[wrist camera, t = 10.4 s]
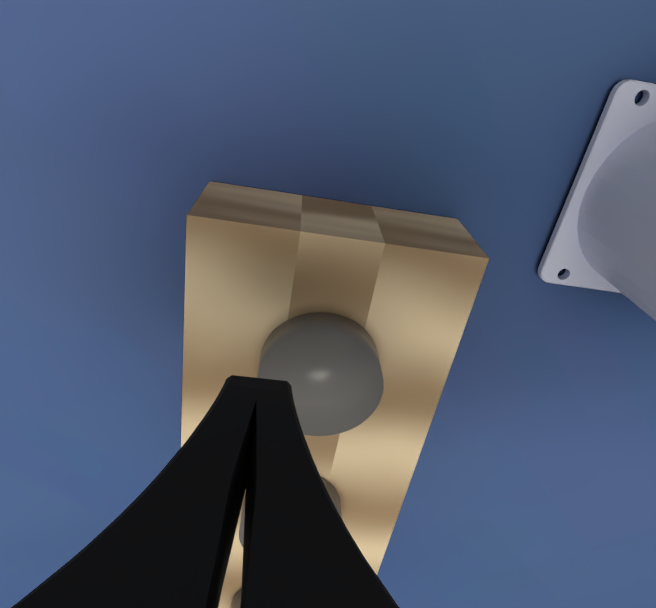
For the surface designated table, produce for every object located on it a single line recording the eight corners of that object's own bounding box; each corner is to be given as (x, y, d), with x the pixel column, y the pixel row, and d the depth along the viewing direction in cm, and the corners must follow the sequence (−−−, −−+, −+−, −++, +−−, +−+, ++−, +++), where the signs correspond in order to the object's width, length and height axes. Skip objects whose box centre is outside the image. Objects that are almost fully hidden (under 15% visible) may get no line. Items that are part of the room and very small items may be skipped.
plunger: (378, 278, 20) (396, 344, 16) (357, 363, 22) (369, 441, 18) (273, 264, 20) (262, 327, 15) (262, 352, 22) (250, 429, 17)
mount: (209, 181, 19) (186, 215, 15) (457, 218, 20) (489, 258, 16) (191, 579, 31) (176, 648, 28) (343, 588, 32) (348, 656, 29)
